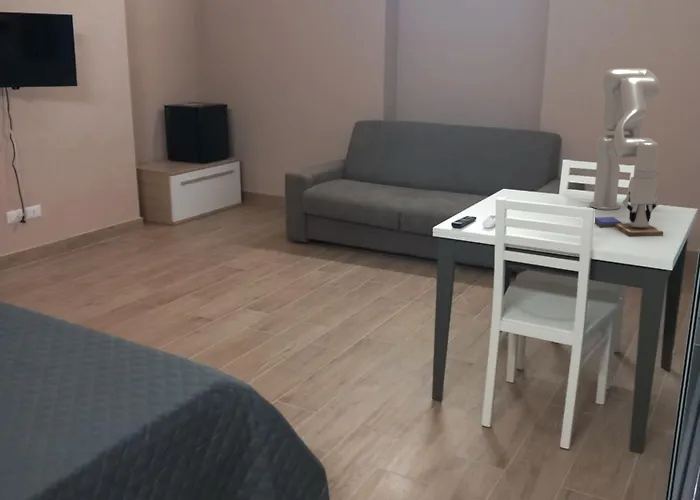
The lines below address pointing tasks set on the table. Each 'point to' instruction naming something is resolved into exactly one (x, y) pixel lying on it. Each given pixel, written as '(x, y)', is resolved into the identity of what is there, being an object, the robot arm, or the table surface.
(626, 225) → the marked board
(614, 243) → the table surface
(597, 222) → the ink pad
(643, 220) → the flask
